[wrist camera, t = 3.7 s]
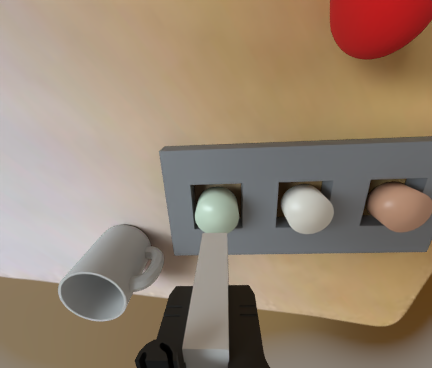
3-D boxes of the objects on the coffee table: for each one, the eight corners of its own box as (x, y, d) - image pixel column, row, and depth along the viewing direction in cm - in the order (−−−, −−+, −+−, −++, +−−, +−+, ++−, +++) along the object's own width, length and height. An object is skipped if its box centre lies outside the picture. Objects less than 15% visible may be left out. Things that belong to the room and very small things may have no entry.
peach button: (361, 218, 26) (378, 232, 23) (370, 181, 24) (390, 192, 21) (402, 217, 26) (424, 232, 23) (414, 180, 24) (440, 191, 21)
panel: (178, 243, 30) (174, 255, 28) (165, 146, 25) (159, 151, 23) (410, 239, 29) (426, 251, 26) (447, 135, 24) (472, 139, 21)
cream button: (279, 220, 26) (285, 234, 24) (282, 184, 25) (289, 195, 22) (318, 219, 26) (329, 233, 23) (324, 183, 24) (337, 194, 22)
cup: (96, 224, 30) (47, 272, 21) (167, 220, 29) (144, 269, 21) (110, 264, 32) (70, 321, 24) (174, 262, 32) (157, 320, 23)
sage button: (199, 221, 27) (196, 236, 24) (196, 187, 25) (193, 198, 22) (237, 221, 27) (239, 235, 24) (237, 185, 25) (239, 196, 22)
